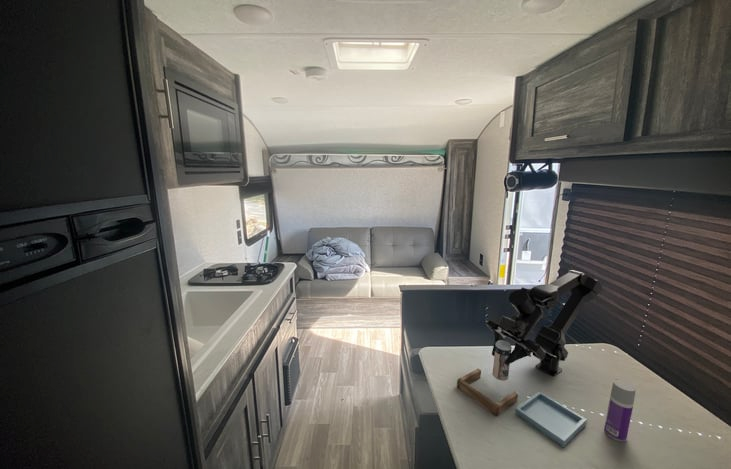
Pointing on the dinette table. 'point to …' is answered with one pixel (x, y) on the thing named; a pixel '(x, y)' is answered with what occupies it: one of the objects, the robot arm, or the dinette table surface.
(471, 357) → the dinette table surface
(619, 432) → the container
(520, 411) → the tray
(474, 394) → the frame
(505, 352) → the beer can
